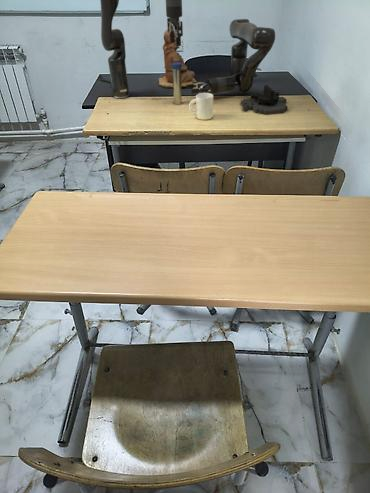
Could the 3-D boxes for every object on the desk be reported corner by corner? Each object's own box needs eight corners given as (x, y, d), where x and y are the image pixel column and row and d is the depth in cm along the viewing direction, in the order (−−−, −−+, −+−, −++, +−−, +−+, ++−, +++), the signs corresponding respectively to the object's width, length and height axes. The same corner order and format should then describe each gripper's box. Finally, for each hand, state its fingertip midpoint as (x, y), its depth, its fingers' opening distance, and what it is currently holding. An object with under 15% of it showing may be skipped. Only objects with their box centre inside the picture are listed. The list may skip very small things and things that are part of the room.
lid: (172, 69, 181) (172, 65, 180) (170, 67, 185) (170, 62, 184) (182, 68, 182) (182, 64, 181) (180, 66, 186) (179, 61, 185)
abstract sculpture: (249, 96, 171) (238, 84, 186) (248, 115, 177) (236, 102, 192) (299, 92, 174) (283, 80, 189) (296, 111, 180) (281, 98, 195)
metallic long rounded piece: (174, 104, 193) (173, 65, 180) (173, 102, 196) (171, 63, 184) (182, 103, 194) (181, 65, 181) (180, 101, 197) (179, 63, 184)
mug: (190, 121, 174) (189, 99, 167) (187, 115, 180) (187, 93, 173) (214, 119, 175) (214, 97, 168) (211, 113, 181) (211, 92, 174)
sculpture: (197, 88, 213) (196, 30, 194) (156, 89, 214) (152, 31, 194) (196, 75, 234) (196, 22, 215) (159, 76, 235) (156, 23, 215)
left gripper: (161, 3, 170) (163, 42, 181) (171, 7, 160) (173, 48, 170) (175, 2, 172) (177, 41, 183) (187, 5, 162) (188, 46, 173)
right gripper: (211, 74, 199) (184, 78, 195) (222, 81, 188) (193, 85, 184) (211, 89, 203) (184, 92, 200) (221, 96, 193) (193, 100, 189)
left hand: (175, 44), depth 177 cm, fingers open, 8 cm apart
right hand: (188, 89), depth 192 cm, fingers open, 8 cm apart
